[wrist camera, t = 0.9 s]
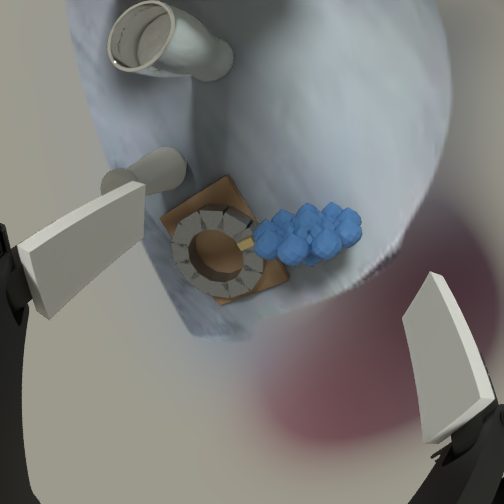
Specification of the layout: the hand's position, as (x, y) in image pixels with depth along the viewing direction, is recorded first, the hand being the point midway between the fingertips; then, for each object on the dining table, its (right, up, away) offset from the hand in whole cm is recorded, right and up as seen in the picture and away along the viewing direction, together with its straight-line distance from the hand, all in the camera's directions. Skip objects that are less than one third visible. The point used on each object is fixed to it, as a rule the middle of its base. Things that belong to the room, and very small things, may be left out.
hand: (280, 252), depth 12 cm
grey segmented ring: (-5, 0, +27) cm, 27 cm away
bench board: (-5, +1, +28) cm, 28 cm away
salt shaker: (-11, +12, +24) cm, 29 cm away
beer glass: (-6, +23, +16) cm, 29 cm away
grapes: (+6, +4, +23) cm, 24 cm away
